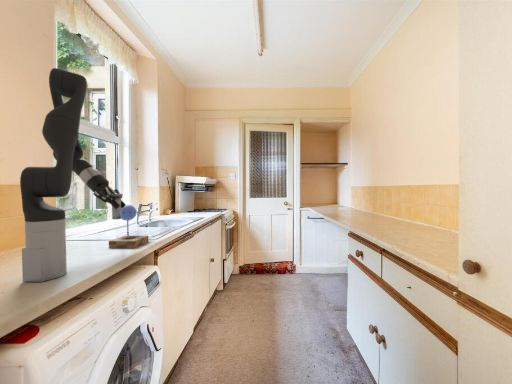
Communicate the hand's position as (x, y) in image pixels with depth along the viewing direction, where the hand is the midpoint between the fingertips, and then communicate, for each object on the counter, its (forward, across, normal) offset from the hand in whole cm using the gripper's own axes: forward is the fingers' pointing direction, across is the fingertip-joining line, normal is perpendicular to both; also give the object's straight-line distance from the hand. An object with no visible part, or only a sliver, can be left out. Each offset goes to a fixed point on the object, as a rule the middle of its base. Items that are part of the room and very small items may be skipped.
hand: (121, 206), depth 105 cm
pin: (+2, 0, +5) cm, 6 cm away
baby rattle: (+7, +19, +20) cm, 28 cm away
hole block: (+13, +6, +13) cm, 19 cm away
